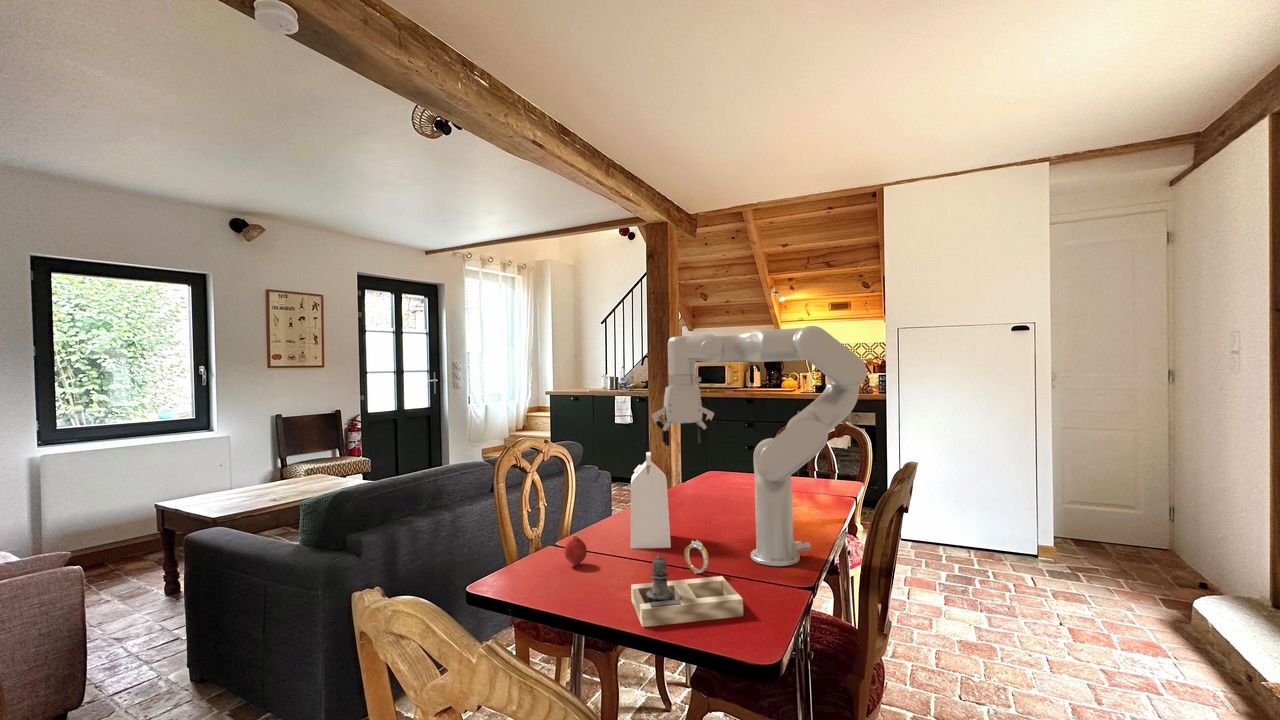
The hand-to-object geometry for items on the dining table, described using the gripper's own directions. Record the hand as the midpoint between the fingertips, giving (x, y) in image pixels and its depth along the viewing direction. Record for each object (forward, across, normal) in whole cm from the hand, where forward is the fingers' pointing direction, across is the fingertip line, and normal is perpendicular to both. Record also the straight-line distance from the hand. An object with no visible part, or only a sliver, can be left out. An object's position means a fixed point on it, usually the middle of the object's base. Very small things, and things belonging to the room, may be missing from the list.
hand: (683, 444), depth 152 cm
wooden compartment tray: (+30, +9, +32) cm, 45 cm away
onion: (+31, +30, 0) cm, 43 cm away
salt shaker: (+31, +14, +32) cm, 46 cm away
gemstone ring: (+31, +1, +13) cm, 33 cm away
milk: (+31, +7, -15) cm, 35 cm away
